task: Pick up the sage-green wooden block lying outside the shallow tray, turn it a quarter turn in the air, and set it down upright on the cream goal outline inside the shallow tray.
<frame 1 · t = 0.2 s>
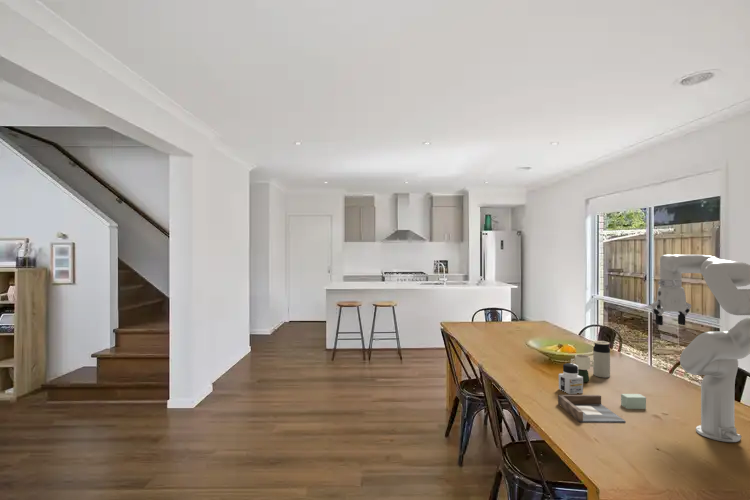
hand: (670, 324, 180), 36 cm above the table, tool pointing down, fingers open, 9 cm apart
travel mug: (601, 376, 229), on the table
shallow tray: (589, 412, 177), on the table
container: (570, 391, 204), on the table
character mug: (582, 381, 220), on the table
sage block: (633, 407, 184), on the table
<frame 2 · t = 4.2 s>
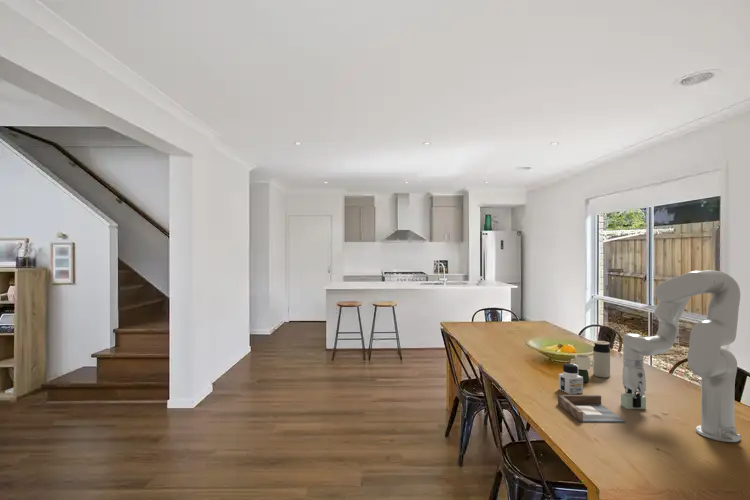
hand: (633, 404, 184), 1 cm above the table, tool pointing down, fingers closed on sage block, 4 cm apart
sage block: (633, 406, 184), on the table, touching gripper
everything else where it was.
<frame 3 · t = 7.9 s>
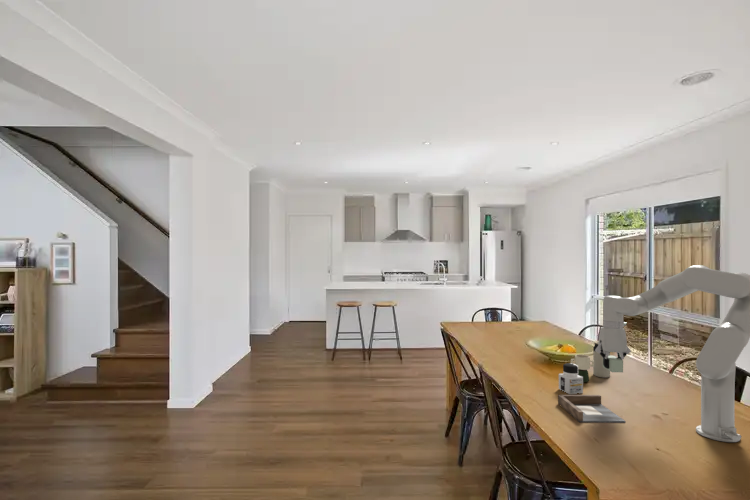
hand: (612, 367, 181), 18 cm above the table, tool pointing down, fingers closed on sage block, 4 cm apart
sage block: (612, 369, 181), point 17 cm above the table, touching gripper
everything else where it was.
when the fingers open (3 cm above the table, at t = 12.1 s): sage block drops 2 cm, resting on shallow tray.
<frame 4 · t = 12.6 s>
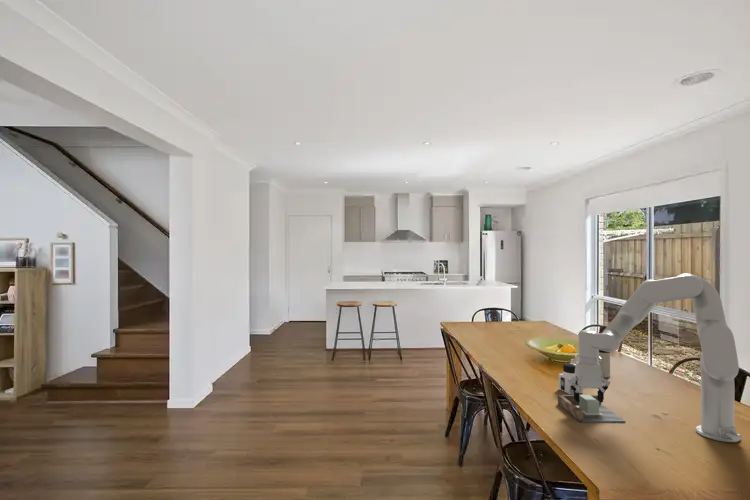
hand: (588, 401, 178), 4 cm above the table, tool pointing down, fingers open, 9 cm apart
sage block: (588, 410, 178), point 1 cm above the table, touching shallow tray
everything else where it was.
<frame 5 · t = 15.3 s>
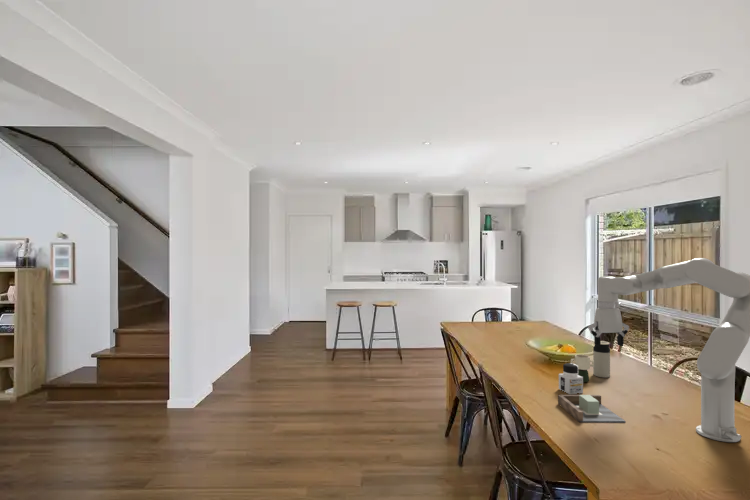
hand: (609, 345, 181), 27 cm above the table, tool pointing down, fingers open, 9 cm apart
nothing on the table moved.
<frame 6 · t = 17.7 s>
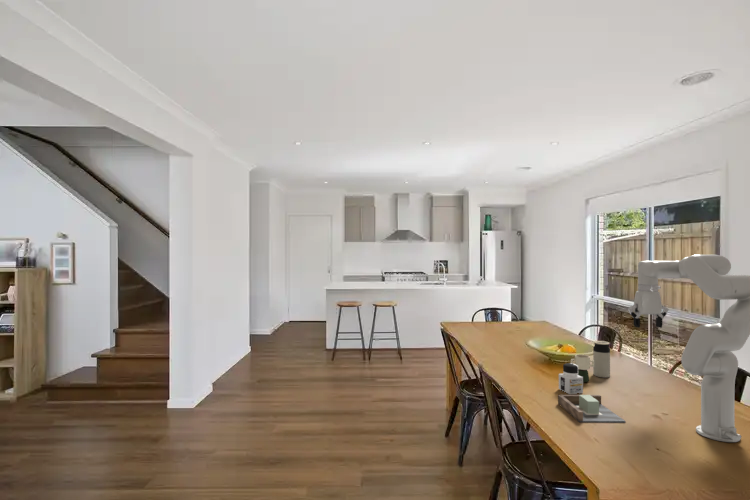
hand: (648, 327, 190), 33 cm above the table, tool pointing down, fingers open, 9 cm apart
nothing on the table moved.
at the end: sage block 0.1 cm from the target spot, point 0.7 cm above the table; sage block tilted 0°; the gripper is holding nothing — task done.
